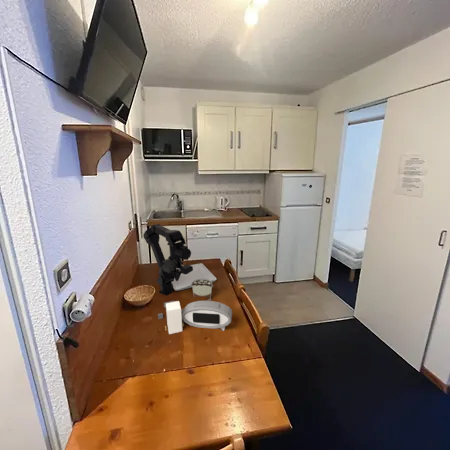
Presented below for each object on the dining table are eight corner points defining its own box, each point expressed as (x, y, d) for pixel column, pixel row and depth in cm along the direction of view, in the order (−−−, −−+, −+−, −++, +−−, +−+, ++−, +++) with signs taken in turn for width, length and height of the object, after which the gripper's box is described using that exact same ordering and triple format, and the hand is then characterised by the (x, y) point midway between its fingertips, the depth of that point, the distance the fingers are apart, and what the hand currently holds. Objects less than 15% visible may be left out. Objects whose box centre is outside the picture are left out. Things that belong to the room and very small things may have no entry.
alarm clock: (181, 329, 118) (180, 305, 114) (185, 320, 124) (184, 297, 120) (231, 332, 115) (231, 308, 112) (232, 323, 121) (232, 300, 118)
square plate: (164, 275, 171) (164, 270, 170) (202, 267, 182) (202, 262, 181) (175, 294, 147) (174, 288, 146) (217, 284, 159) (217, 278, 158)
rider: (167, 327, 118) (165, 303, 114) (180, 324, 120) (178, 300, 116) (169, 336, 112) (167, 310, 109) (182, 333, 114) (180, 308, 111)
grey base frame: (156, 305, 136) (156, 300, 135) (181, 301, 140) (180, 296, 139) (160, 337, 112) (160, 332, 111) (190, 331, 116) (190, 325, 115)
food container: (214, 294, 147) (214, 278, 144) (213, 300, 141) (212, 284, 138) (194, 293, 148) (193, 277, 145) (191, 298, 142) (190, 283, 139)
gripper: (151, 255, 132) (154, 282, 136) (178, 263, 122) (180, 291, 127) (166, 249, 141) (168, 274, 145) (192, 255, 131) (194, 282, 136)
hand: (177, 280), depth 138 cm, fingers closed
